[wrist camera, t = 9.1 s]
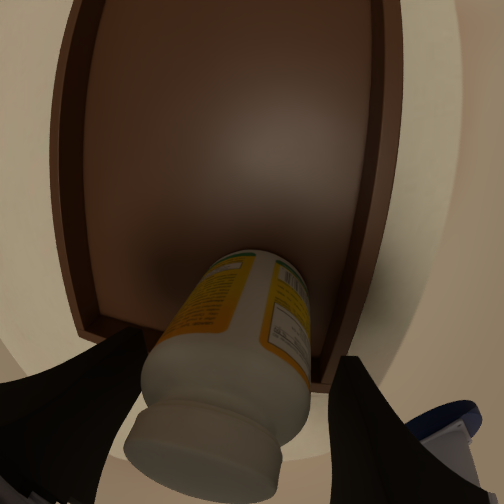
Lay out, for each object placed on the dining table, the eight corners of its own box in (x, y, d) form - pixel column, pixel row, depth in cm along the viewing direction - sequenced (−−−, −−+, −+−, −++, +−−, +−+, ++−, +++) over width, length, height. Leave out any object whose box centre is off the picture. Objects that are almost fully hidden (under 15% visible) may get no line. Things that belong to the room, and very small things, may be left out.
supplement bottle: (324, 265, 13) (353, 467, 4) (288, 349, 15) (269, 517, 6) (212, 232, 13) (79, 387, 4) (194, 321, 15) (114, 471, 6)
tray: (328, 362, 15) (330, 394, 13) (99, 316, 17) (78, 337, 15) (368, -86, 4) (374, -107, 2) (134, -75, 6) (117, -89, 4)
